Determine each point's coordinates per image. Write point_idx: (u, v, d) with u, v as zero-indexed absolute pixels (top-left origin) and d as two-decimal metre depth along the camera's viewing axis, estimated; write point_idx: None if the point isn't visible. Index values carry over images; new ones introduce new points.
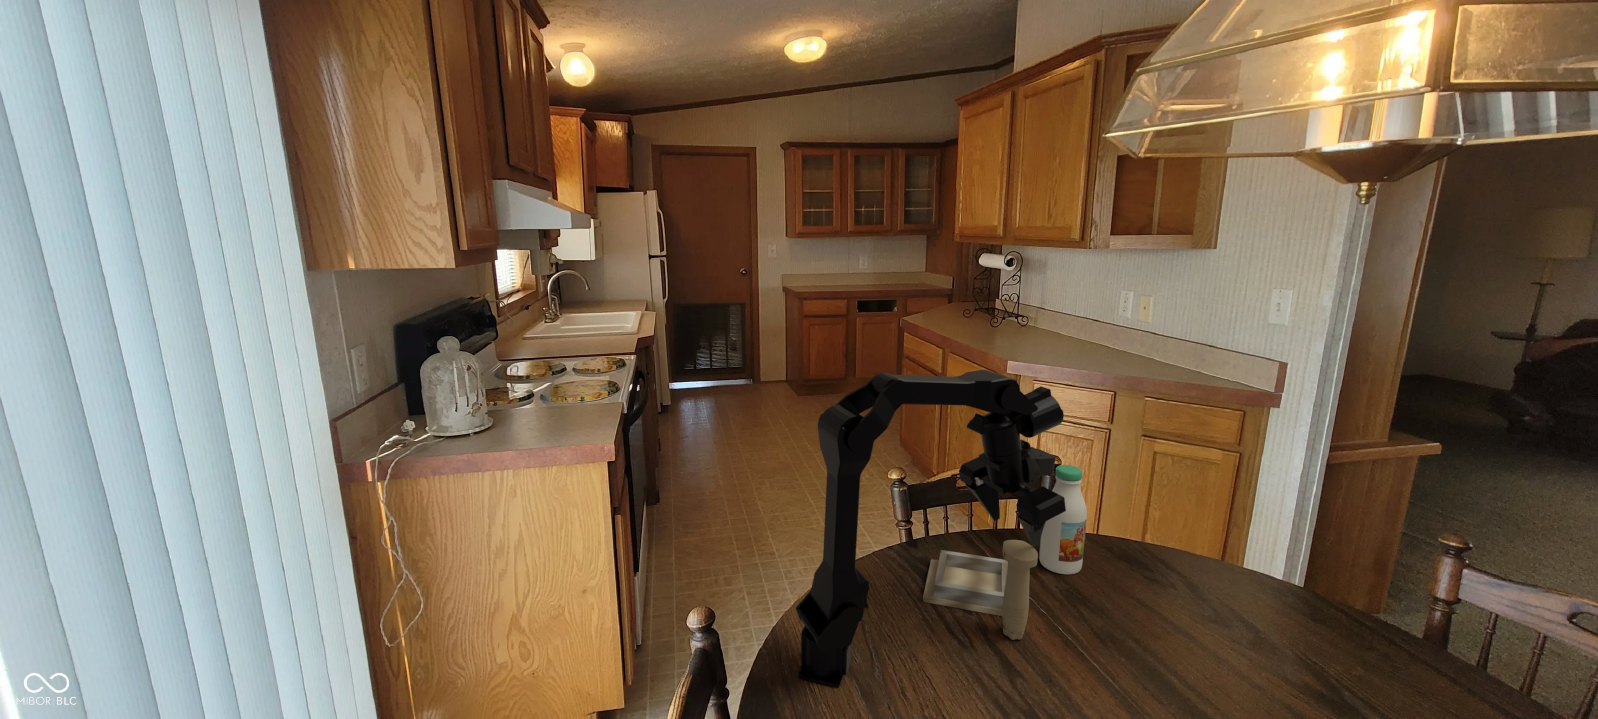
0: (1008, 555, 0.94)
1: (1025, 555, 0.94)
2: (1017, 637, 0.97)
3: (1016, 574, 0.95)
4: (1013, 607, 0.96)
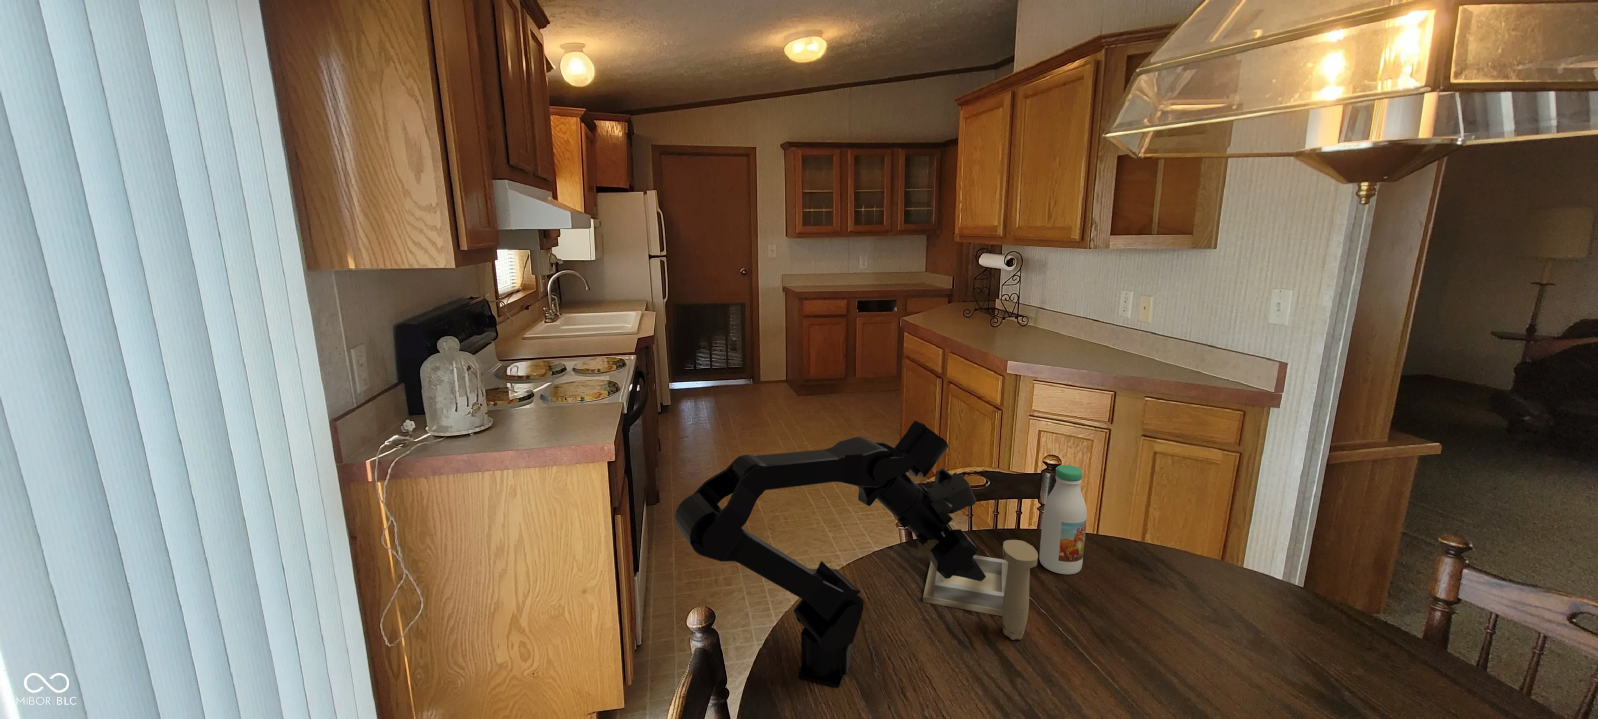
0: (1008, 555, 0.94)
1: (1025, 555, 0.94)
2: (1017, 637, 0.97)
3: (1016, 574, 0.95)
4: (1013, 607, 0.96)
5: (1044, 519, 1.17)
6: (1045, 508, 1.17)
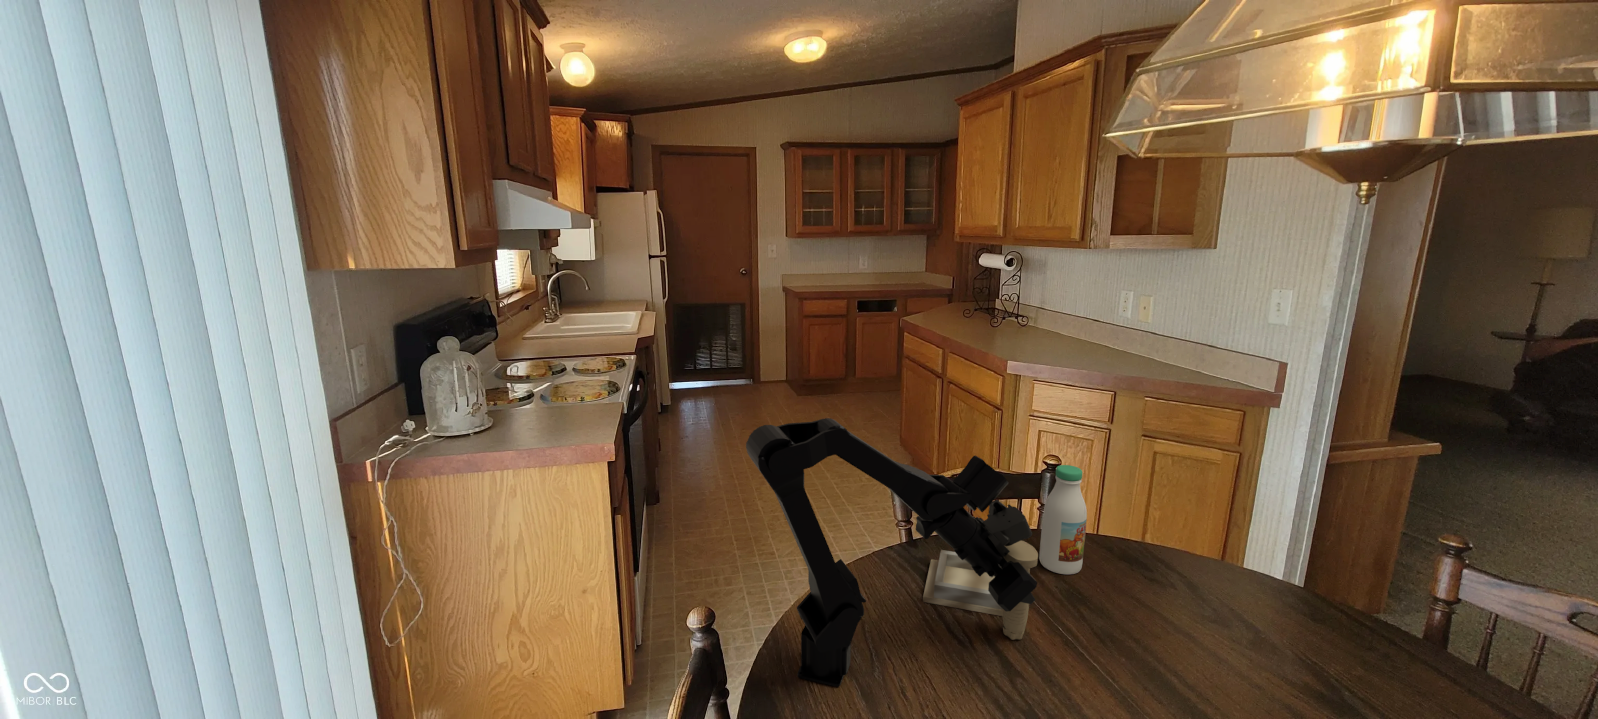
0: (1008, 555, 0.94)
1: (1025, 555, 0.94)
2: (1017, 637, 0.97)
3: None
4: None
5: (1044, 519, 1.17)
6: (1045, 508, 1.17)
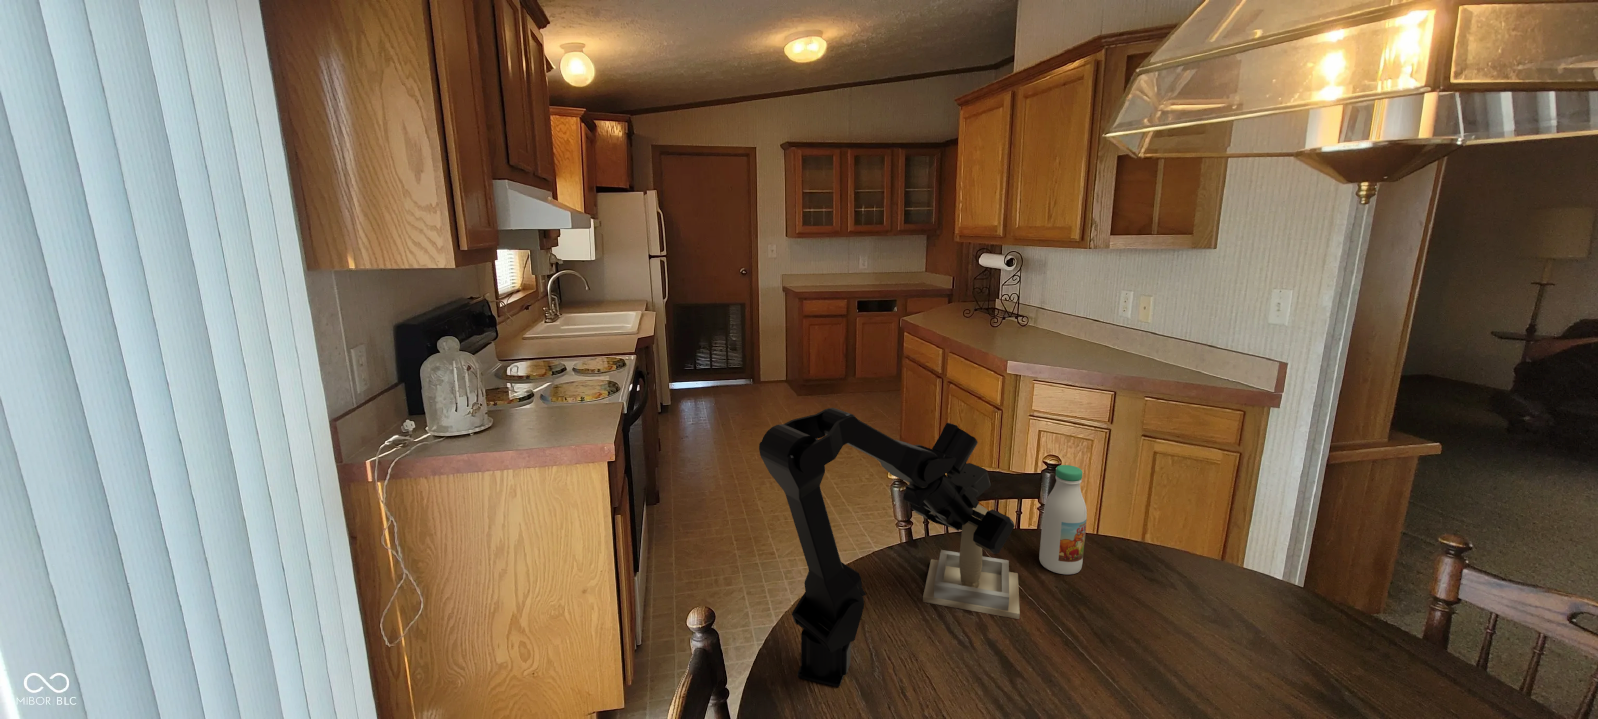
0: None
1: None
2: (976, 586, 1.09)
3: None
4: (973, 561, 1.07)
5: (1044, 519, 1.17)
6: (1045, 508, 1.17)
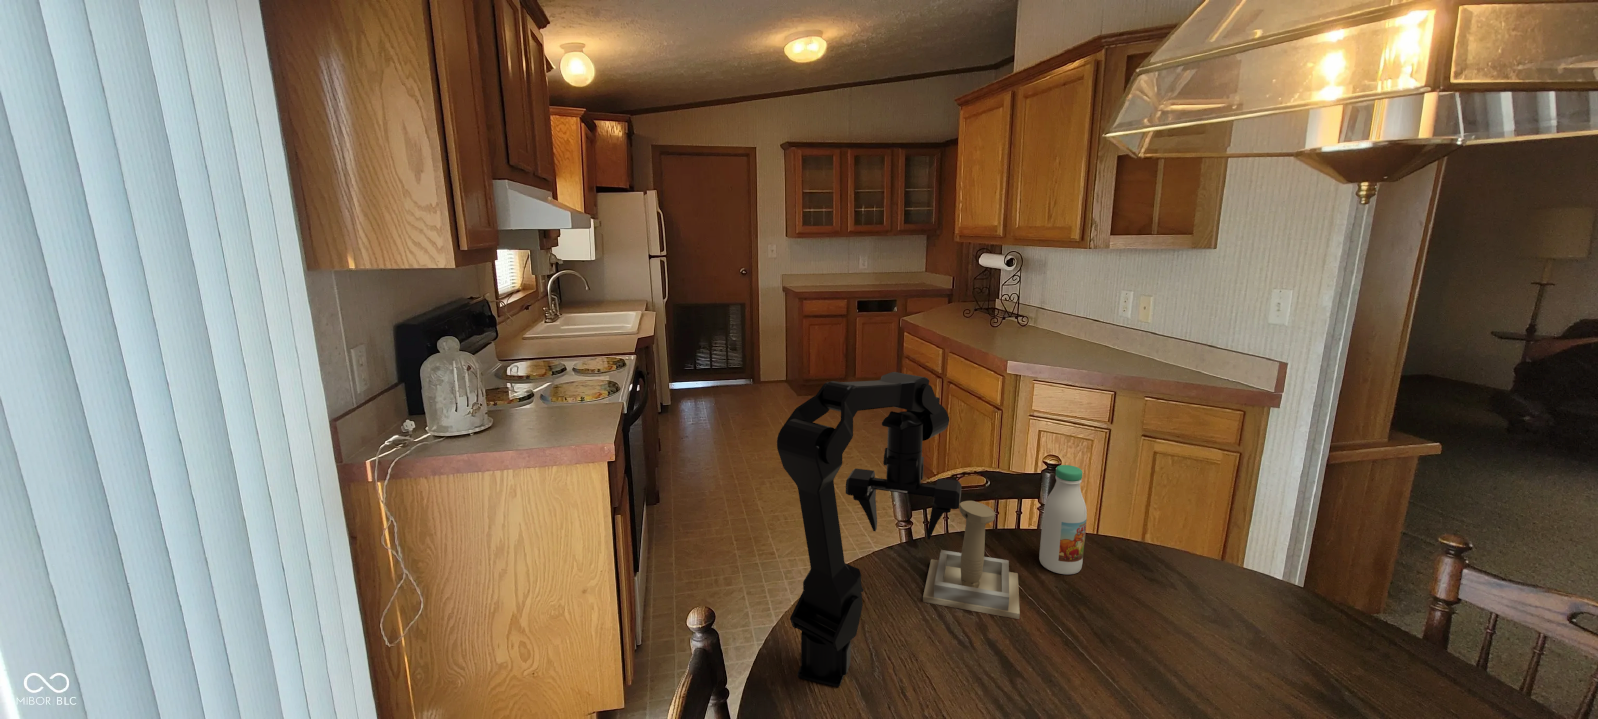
0: (972, 515, 1.05)
1: (984, 512, 1.06)
2: (976, 586, 1.09)
3: (977, 530, 1.07)
4: (975, 560, 1.07)
5: (1044, 519, 1.17)
6: (1045, 508, 1.17)
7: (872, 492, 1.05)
